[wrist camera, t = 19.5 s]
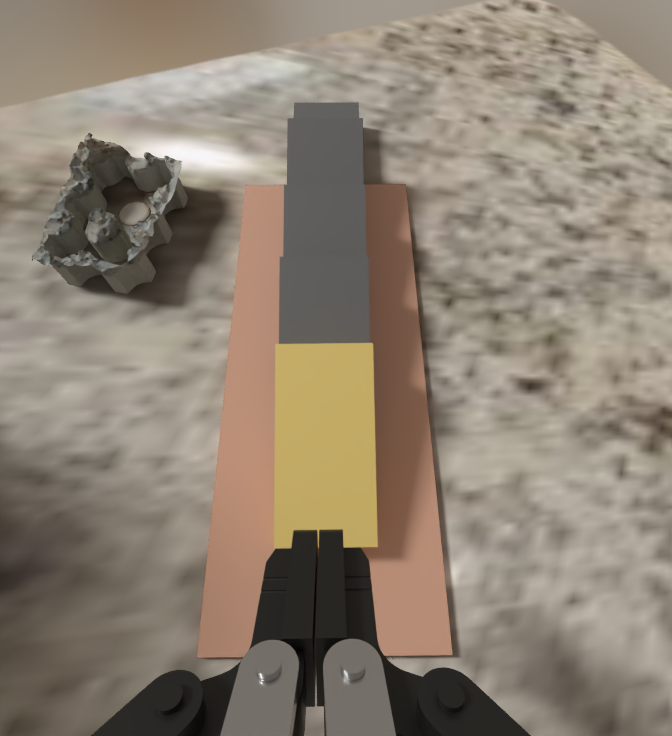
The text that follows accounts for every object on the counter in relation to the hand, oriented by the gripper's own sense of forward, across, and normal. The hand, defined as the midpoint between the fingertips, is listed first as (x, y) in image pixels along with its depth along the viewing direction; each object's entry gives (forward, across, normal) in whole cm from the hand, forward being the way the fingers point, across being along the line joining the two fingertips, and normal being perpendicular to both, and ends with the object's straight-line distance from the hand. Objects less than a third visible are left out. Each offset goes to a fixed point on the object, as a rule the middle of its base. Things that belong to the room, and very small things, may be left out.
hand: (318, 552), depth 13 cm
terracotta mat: (+15, 0, 0) cm, 15 cm away
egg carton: (+23, +14, -8) cm, 28 cm away
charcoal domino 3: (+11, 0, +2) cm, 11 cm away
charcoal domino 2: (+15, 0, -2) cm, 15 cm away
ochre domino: (+7, 0, +6) cm, 9 cm away
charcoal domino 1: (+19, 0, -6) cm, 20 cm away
